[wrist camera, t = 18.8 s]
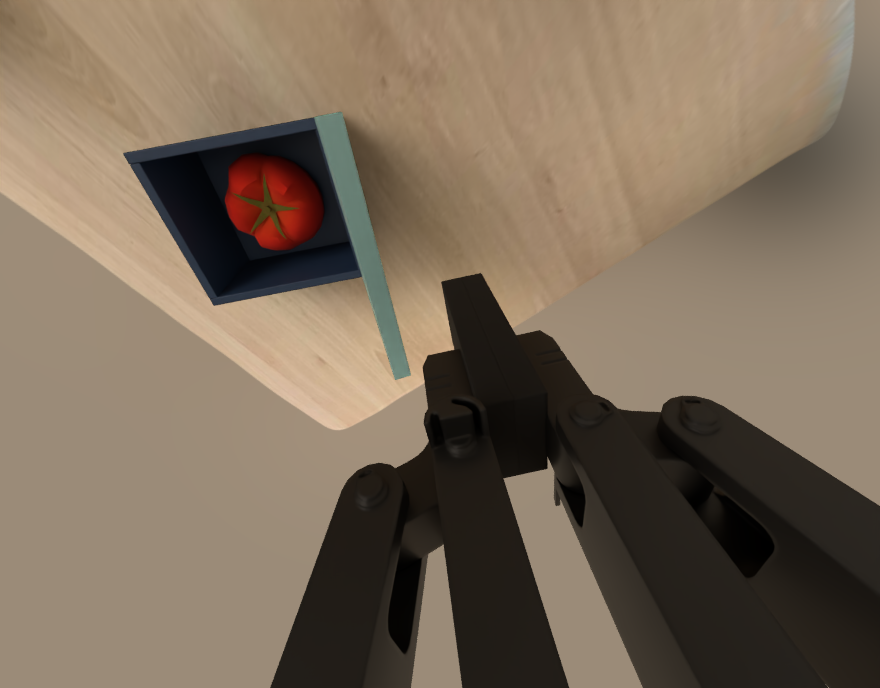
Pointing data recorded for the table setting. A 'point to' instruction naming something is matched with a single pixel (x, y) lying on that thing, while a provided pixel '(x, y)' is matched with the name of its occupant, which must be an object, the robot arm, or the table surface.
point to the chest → (212, 231)
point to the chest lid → (362, 234)
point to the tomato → (273, 201)
